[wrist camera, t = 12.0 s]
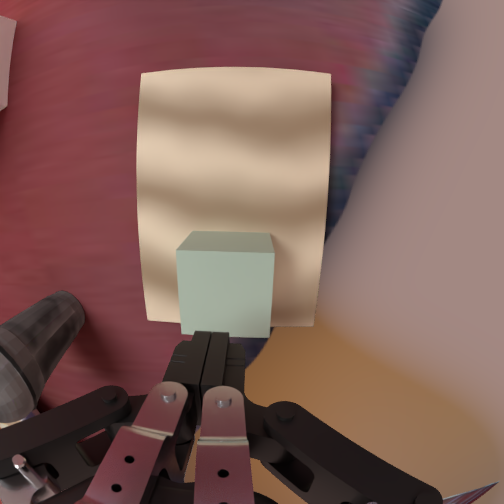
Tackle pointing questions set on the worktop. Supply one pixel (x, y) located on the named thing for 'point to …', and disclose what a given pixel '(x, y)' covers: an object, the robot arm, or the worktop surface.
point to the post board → (234, 175)
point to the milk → (5, 56)
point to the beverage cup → (34, 351)
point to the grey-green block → (226, 282)
